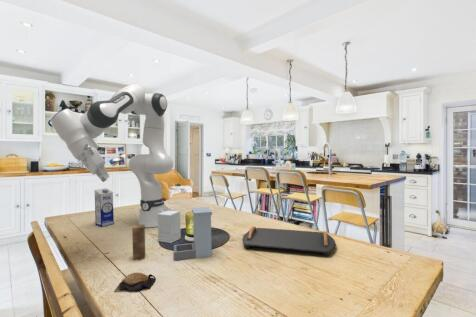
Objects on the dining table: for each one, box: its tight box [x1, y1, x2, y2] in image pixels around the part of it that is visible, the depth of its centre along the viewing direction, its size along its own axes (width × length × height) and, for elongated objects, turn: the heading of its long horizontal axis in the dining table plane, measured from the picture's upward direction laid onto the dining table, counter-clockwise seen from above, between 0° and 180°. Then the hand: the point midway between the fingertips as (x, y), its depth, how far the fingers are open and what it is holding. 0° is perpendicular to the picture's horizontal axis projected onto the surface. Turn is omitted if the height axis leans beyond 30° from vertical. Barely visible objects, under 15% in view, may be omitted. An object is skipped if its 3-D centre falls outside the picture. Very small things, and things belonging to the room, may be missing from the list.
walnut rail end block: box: [131, 224, 146, 261], centre depth 98 cm, size 4×4×12 cm
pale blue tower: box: [173, 206, 213, 262], centre depth 100 cm, size 14×9×17 cm, turn 105°
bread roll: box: [113, 272, 157, 293], centre depth 78 cm, size 11×8×4 cm
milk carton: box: [94, 187, 115, 228], centre depth 143 cm, size 7×7×20 cm
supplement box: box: [157, 210, 182, 244], centre depth 117 cm, size 7×7×13 cm
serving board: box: [242, 226, 336, 257], centre depth 110 cm, size 39×23×6 cm, turn 74°
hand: (106, 179), depth 99 cm, fingers open, 8 cm apart
